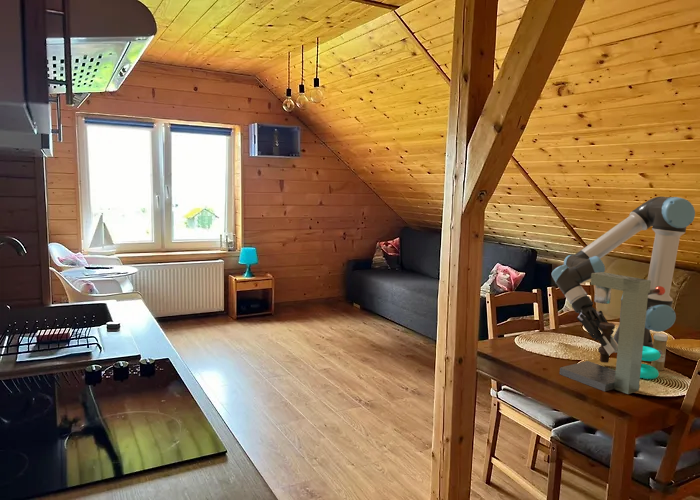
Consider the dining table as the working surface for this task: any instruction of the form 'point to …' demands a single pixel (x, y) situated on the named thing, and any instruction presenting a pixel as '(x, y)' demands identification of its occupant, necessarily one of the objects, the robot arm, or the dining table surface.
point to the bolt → (607, 333)
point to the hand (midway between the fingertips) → (615, 351)
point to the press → (629, 335)
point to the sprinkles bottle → (659, 345)
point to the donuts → (648, 370)
